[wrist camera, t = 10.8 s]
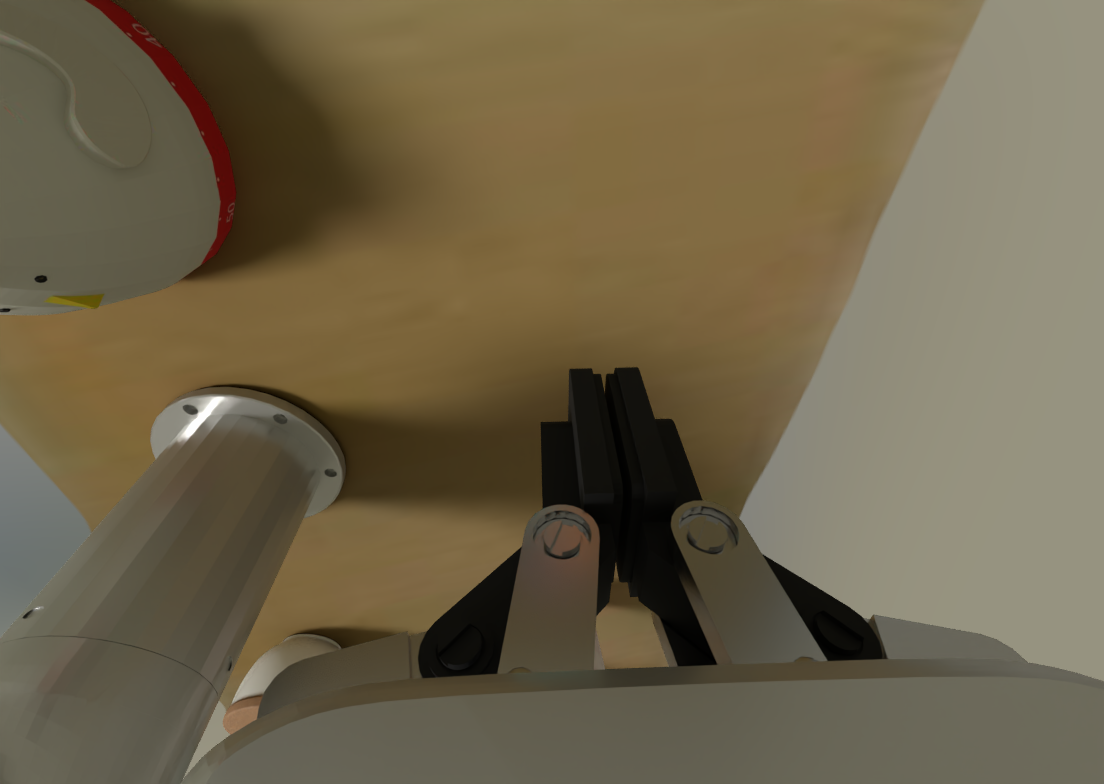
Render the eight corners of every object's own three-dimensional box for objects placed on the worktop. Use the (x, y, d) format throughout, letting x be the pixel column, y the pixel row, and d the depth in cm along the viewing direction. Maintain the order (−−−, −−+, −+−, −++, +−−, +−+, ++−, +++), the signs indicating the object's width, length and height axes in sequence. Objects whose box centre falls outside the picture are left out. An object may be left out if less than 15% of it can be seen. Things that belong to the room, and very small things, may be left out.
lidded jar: (248, 657, 54) (202, 760, 46) (272, 611, 48) (225, 719, 41) (345, 677, 57) (317, 775, 50) (377, 637, 52) (351, 740, 44)
